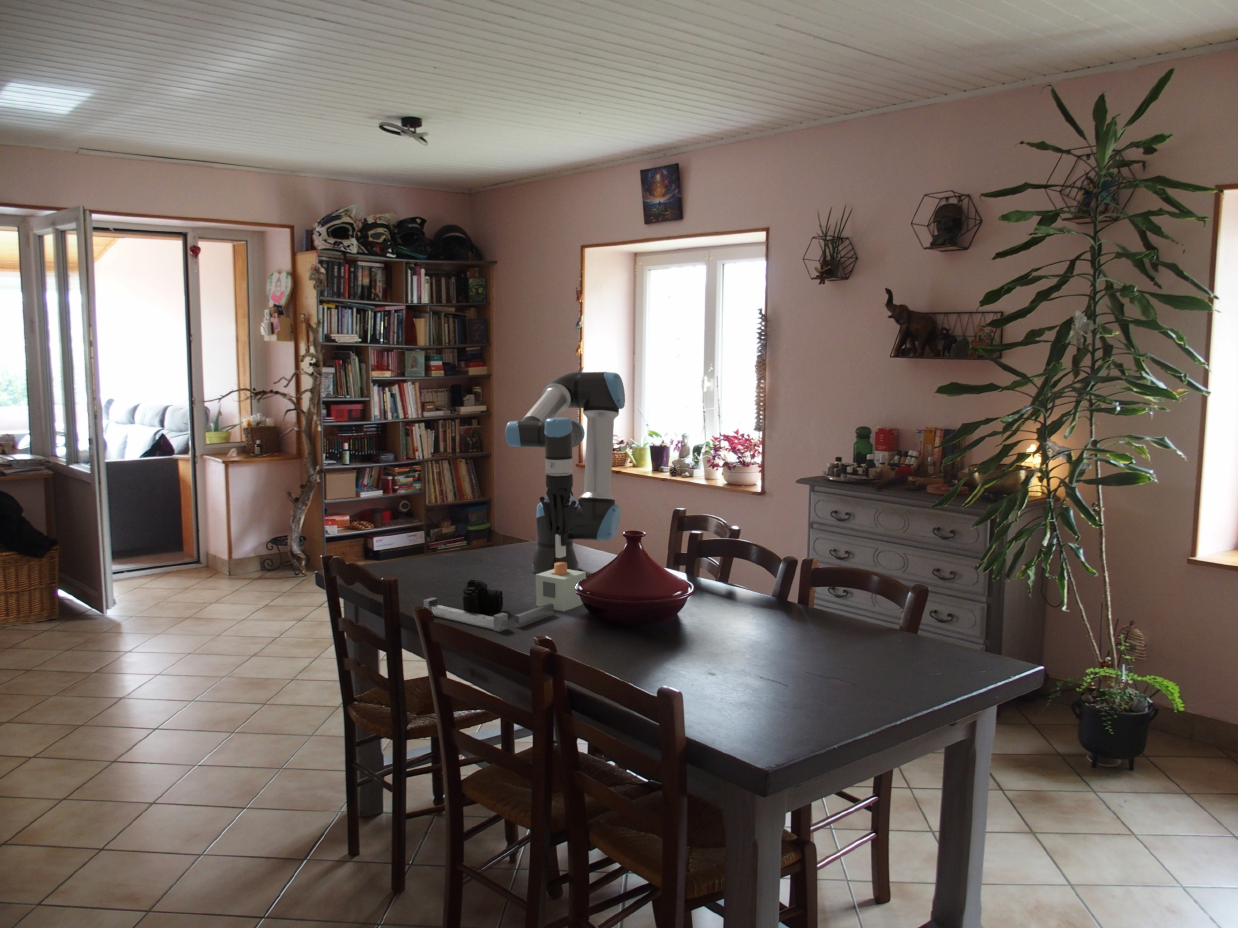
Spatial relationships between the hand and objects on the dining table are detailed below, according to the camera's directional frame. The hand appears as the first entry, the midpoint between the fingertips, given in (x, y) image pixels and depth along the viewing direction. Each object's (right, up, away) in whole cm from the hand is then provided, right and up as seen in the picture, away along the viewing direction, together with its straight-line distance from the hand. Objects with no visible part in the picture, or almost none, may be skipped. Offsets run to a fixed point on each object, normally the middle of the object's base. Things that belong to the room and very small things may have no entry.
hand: (560, 556), depth 265 cm
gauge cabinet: (0, -14, +2) cm, 14 cm away
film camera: (-21, -15, -6) cm, 26 cm away
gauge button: (0, -8, +1) cm, 8 cm away
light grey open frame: (-19, -15, -8) cm, 26 cm away
